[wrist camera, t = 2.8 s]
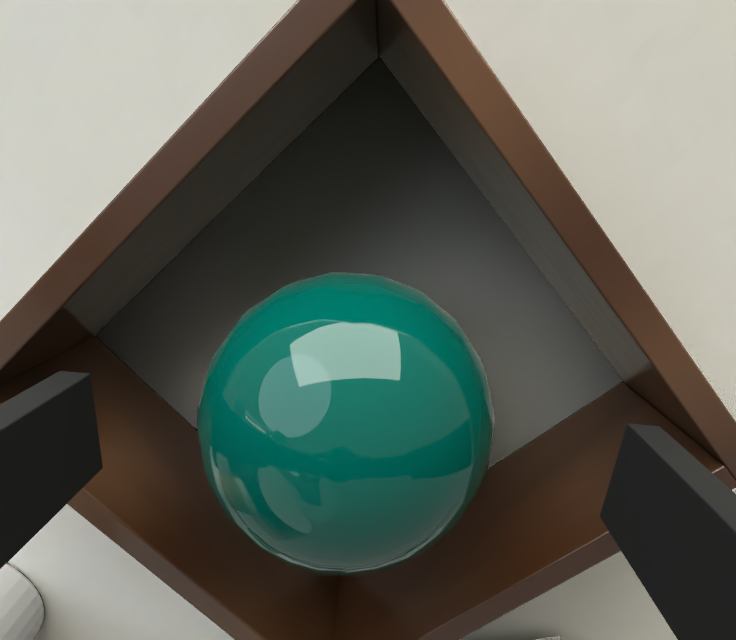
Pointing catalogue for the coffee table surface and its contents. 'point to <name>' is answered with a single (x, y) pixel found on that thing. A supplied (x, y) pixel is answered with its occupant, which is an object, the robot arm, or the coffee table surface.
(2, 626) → the coffee cup
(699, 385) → the box
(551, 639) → the alarm clock
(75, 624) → the coffee table surface
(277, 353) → the sphere
